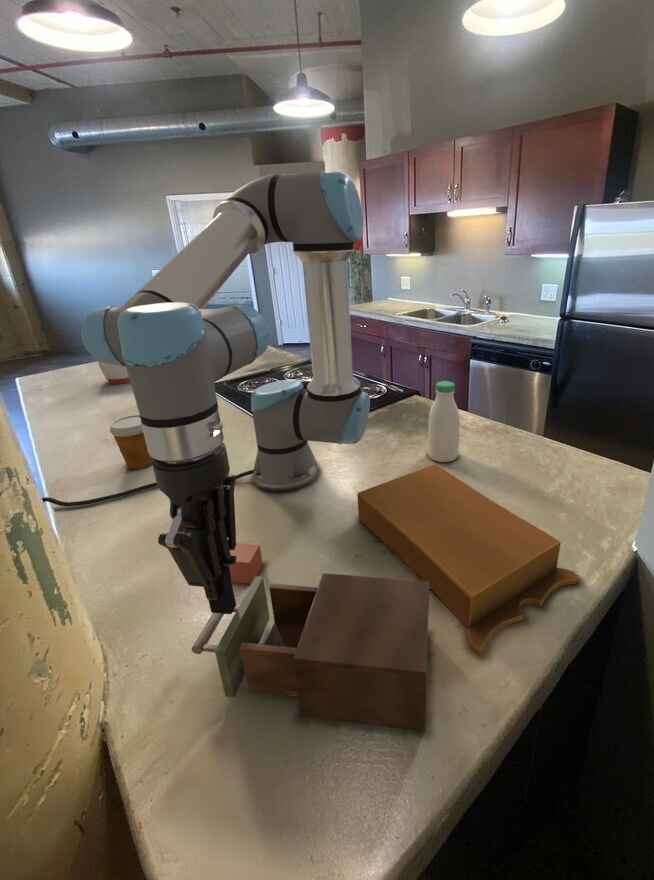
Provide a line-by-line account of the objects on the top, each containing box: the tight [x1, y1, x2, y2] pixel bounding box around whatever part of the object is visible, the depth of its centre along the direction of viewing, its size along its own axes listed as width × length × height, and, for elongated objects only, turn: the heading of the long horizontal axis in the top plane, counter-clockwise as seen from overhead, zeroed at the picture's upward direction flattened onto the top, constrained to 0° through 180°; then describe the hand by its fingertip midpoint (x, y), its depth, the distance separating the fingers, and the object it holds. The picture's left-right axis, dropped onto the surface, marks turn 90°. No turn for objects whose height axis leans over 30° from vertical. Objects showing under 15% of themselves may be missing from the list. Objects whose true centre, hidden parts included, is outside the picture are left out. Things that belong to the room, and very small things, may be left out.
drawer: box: [191, 575, 318, 699], centre depth 54 cm, size 18×12×8 cm, turn 83°
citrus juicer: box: [97, 360, 131, 384], centre depth 172 cm, size 16×17×20 cm
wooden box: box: [356, 463, 580, 654], centre depth 75 cm, size 23×6×35 cm
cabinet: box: [293, 572, 430, 732], centre depth 53 cm, size 15×13×10 cm
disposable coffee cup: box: [109, 414, 153, 470], centre depth 106 cm, size 10×10×12 cm
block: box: [229, 542, 264, 585], centre depth 71 cm, size 4×4×4 cm
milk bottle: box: [427, 380, 460, 463], centre depth 105 cm, size 8×8×20 cm
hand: (224, 608), depth 54 cm, fingers closed
